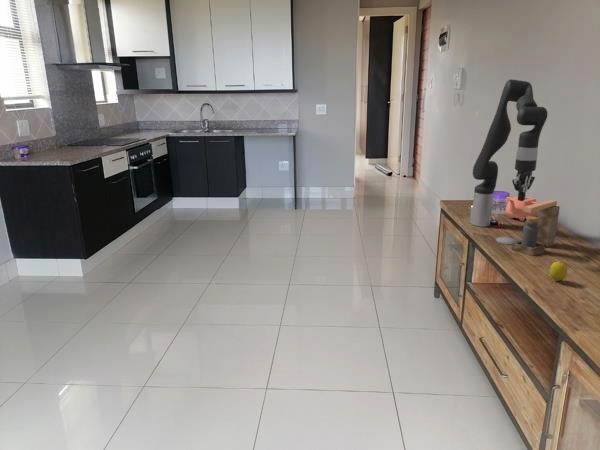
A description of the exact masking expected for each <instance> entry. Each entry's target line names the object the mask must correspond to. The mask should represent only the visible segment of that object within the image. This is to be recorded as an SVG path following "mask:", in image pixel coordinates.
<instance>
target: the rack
mask: <svg viewBox="0 0 600 450" xmlns="http://www.w3.org/2000/svg"><path fill="white" fill-rule="evenodd" d="M560 209H561V207H560V206H559V205H556V206H552V207H549V208H545V209H542V210H539V211H537V216H536V217H537V218H539V219H538V222H539V223H538V225H537V227H538V228H539V230H538V237H537V244H536V247H534V248H531V247H527V246H524V245H521V243H522V239H520V240H519V241H517V242H515V243H512V245H511V250H512V251H515V252H519V253H521V254H525V255H529V256H536V255H539V254H541V253H543V252H545V251H546V250H545V249H546V248H549V247H552V246H554V245H555V240H556V239H555V238H556V233H557V227H558V221H559V214H560Z"/></svg>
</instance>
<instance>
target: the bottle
mask: <svg viewBox="0 0 600 450" xmlns="http://www.w3.org/2000/svg"><path fill="white" fill-rule="evenodd" d="M537 217H538V216H534V217H533V216H528V217H526V218H527V219H526V220H525V221H524V224H526V225H524V226H523V229H522V237H521V240H522V243H521V245H524V246H527V247H531V248H534V247H536V244H537V237H538V230H539V228H538V227H537V225H538V223H539V222H538V219H539V218H537Z"/></svg>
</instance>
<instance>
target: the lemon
mask: <svg viewBox="0 0 600 450" xmlns="http://www.w3.org/2000/svg"><path fill="white" fill-rule="evenodd" d="M567 267H568V266H567V265H566V263H564V262H562V261H561V260H558V261H555V262H553V263H552V264H551V265H550V268H549V276H550V277H551V278H552V279H553V280H554V281H555V282H559V281H562V280H564V279H565V278H566V277H567V276H568V275H567V274H568V268H567Z"/></svg>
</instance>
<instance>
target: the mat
mask: <svg viewBox="0 0 600 450" xmlns="http://www.w3.org/2000/svg"><path fill="white" fill-rule="evenodd" d="M495 241H496V242H497V243H498V244H502V245H507V246H512V243H515V242H517V241H520V240H519V239H517V238H514V237H507V236H501V237H500V236H499V237H496V239H495Z"/></svg>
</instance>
